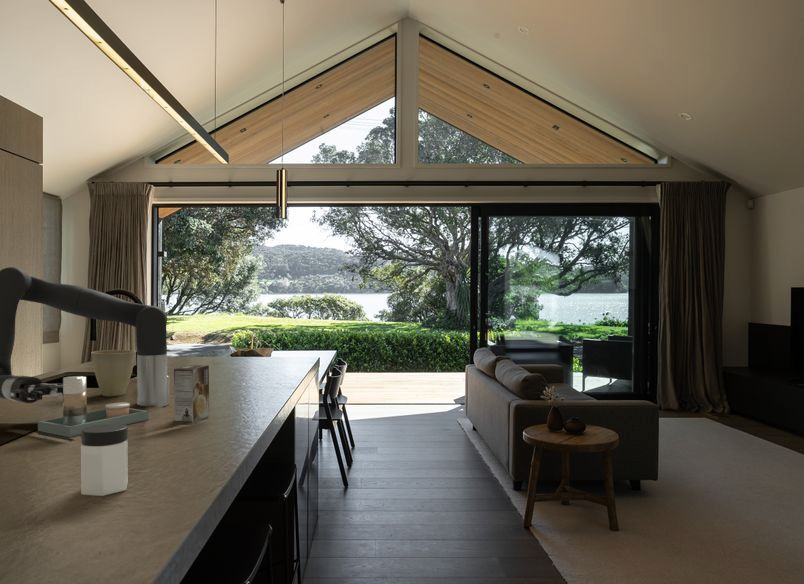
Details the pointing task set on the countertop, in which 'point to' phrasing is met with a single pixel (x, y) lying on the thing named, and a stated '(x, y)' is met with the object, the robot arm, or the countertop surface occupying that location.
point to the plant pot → (113, 370)
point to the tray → (89, 423)
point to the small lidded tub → (117, 409)
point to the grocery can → (74, 400)
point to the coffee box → (191, 393)
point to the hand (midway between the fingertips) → (56, 393)
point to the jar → (104, 459)
